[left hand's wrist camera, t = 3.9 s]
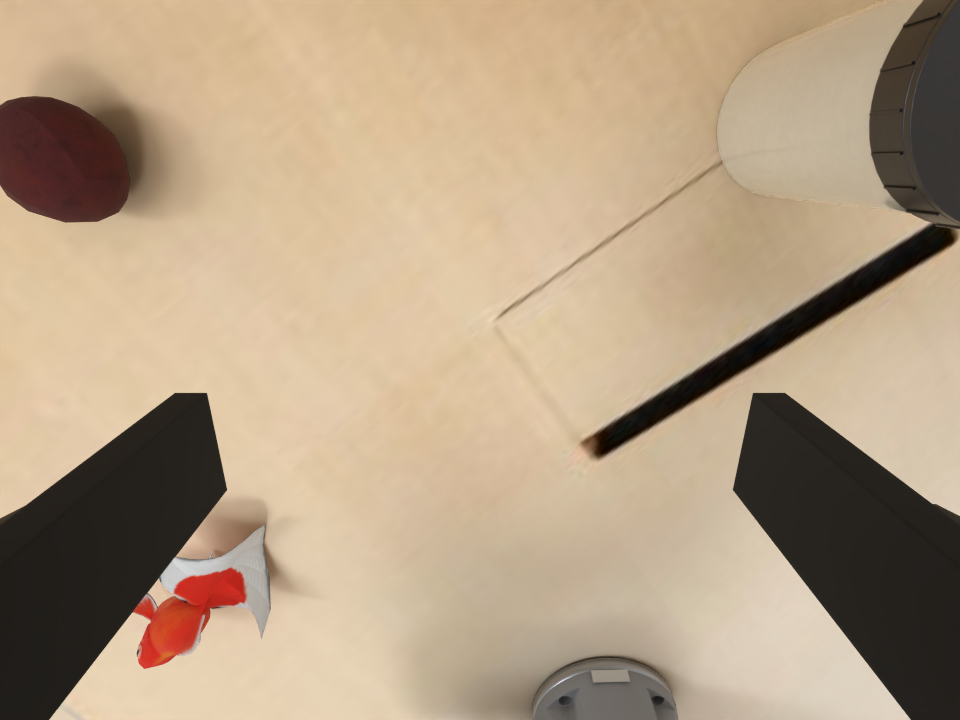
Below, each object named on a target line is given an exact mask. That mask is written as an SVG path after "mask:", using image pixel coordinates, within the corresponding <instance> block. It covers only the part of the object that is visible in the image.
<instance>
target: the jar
mask: <svg viewBox="0 0 960 720" xmlns="http://www.w3.org/2000/svg"><path fill="white" fill-rule="evenodd" d="M922 2H923V0H884V1H881V2H879V3H876V4H874V5H871V6H869V7H866V8H864V9H861V10H859V11H856V12H854V13H851V14H849V15H846V16H844V17H841V18H839V19H836V20H834V21H831V22H829V23H827V24H824V25H822V26H819V27H817V28H814V29H812V30H809V31H807V32H804V33H802V34H799V35H797V36H794V37H792V38H789V39H787V40H784V41H782V42H780V43H777V44H775V45H773V46H771V47H769V48H767V49H766V50H764V51H763V52H761V53H760V54H758V55H757V56H756V57H755V58H753V59H752V60H751V61H750V62H749V63H748V64H747V65H746V66H745V67H744V68H743V69H742V70H741V72H740V73H739V74H738V75H737V77H736V78H735V80H734V81H733V83H732V84H731V86H730V88H729V90H728V92H727V94H726V96H725V98H724V101H723V103H722V106H721V110H720V113H719V118H718V125H717V143H718V150H719V154H720V157H721V160H722V162H723V165H724V167H725V168H726V170H727V172H728V173H729V175H730V176H731V177H732V178H733V180H734V181H735V182H737V183H738V184H739V185H740V186H741V187H743V188H744V189H746V190H748V191H750V192H752V193H754V194H757V195H761V196H766V197H774V198H782V199H791V200H799V201H808V202H817V203H825V204H834V205H842V206H851V207H860V208H868V209H877V210H885V211H894V212H902V213H907V212H905V211H906V210H905V209H904V208H903V207H901V206H900V205H899V204H898V203H897V202H896V201H895V200H894V199H893V198H892V197H891V196H890V194H889V193H888V191H887V190H886V189H884V188H883V187H884V186H883V184H882V182H881V180H880V178H879V176H878V174H877V172H876V169H875V165H874V162H873V159H872V156H871V148H870V141H869V119H870V116H869V113H870V109H871V102H872V98H873V94H874V90H875V85H876V82H877V79H878V76H879V74H880V69H881V68H882V65H883V63H884V61H885V59H886V57H887V54H888V52H889V50H890V48H891V46H892V44H893V43H894V41H895V39H896V37H897V36H898V34H899V32H900V31H901V29H902V27H903V24H904V23H906V22H907V20H908V19H909V18H910V16H911V15H912V14H913V12H914V11H915V10H916V8H917V7H918V6H919V5H920V4H921V3H922Z"/></svg>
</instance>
